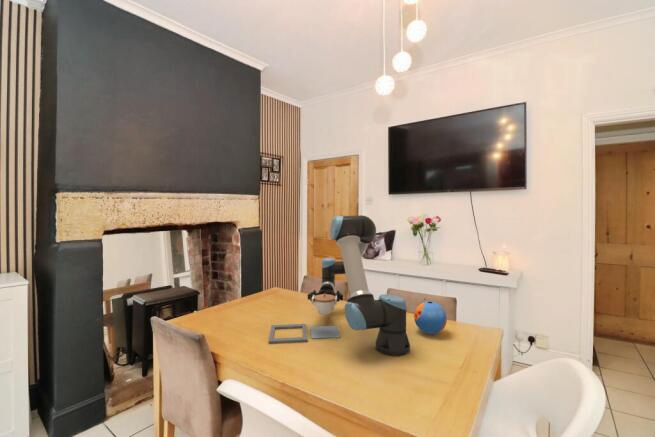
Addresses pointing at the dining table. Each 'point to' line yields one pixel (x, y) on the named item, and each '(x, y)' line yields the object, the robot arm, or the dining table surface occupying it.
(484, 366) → the dining table surface
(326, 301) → the lidded jar
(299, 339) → the puzzle board
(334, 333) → the pad
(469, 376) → the dining table surface
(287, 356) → the dining table surface
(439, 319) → the treat dispenser ball
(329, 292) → the robot arm
